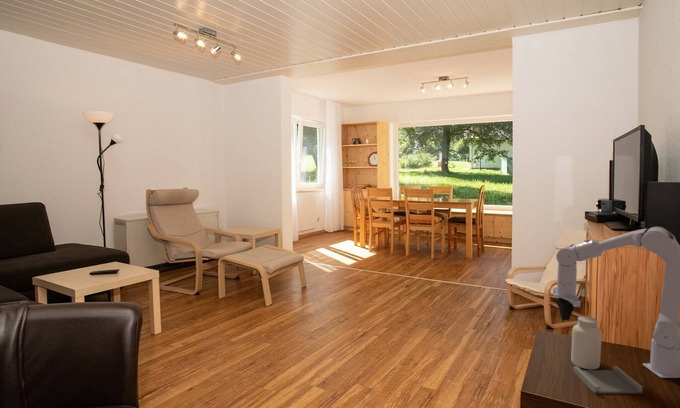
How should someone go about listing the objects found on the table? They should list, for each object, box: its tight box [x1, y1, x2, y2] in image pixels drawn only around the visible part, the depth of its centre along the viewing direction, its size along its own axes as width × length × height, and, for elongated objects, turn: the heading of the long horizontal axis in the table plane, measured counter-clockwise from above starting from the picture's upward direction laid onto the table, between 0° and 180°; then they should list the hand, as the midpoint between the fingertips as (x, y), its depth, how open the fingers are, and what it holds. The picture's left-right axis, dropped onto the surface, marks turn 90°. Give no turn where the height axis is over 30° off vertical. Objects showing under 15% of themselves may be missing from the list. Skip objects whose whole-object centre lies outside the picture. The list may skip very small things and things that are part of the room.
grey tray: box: [572, 365, 643, 395], centre depth 121 cm, size 13×12×2 cm
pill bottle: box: [570, 315, 603, 370], centre depth 131 cm, size 8×8×15 cm
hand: (565, 319), depth 143 cm, fingers closed
